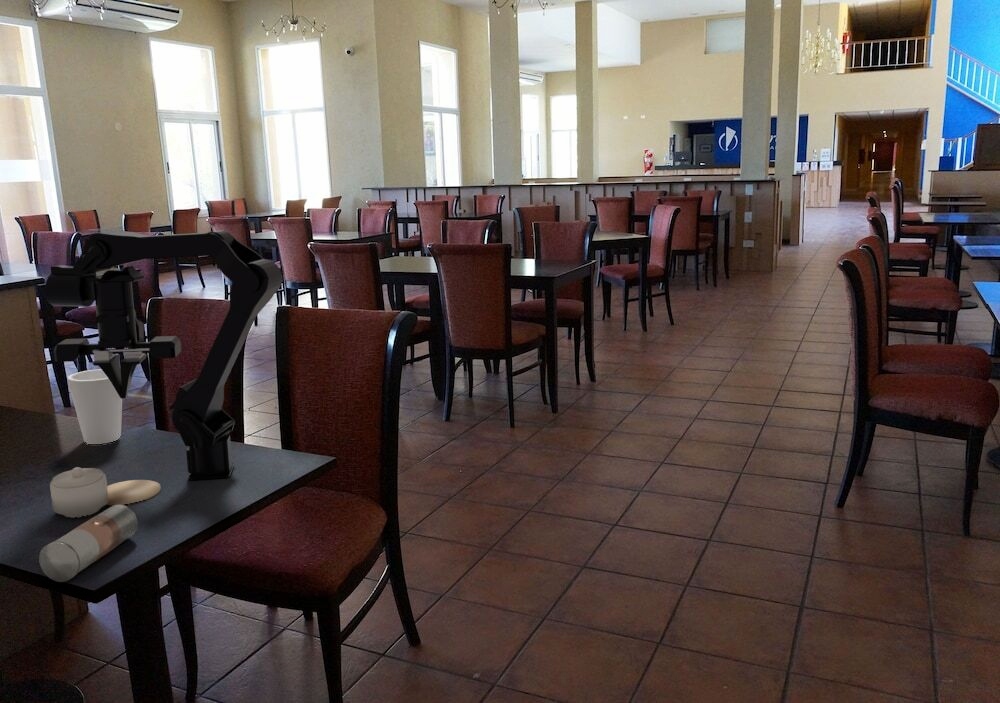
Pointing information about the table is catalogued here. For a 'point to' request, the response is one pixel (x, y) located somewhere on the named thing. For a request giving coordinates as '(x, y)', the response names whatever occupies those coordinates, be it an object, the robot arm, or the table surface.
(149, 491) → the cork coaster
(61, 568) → the tea canister
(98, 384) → the foam cup
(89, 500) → the sugar bowl
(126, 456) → the table surface
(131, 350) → the robot arm
